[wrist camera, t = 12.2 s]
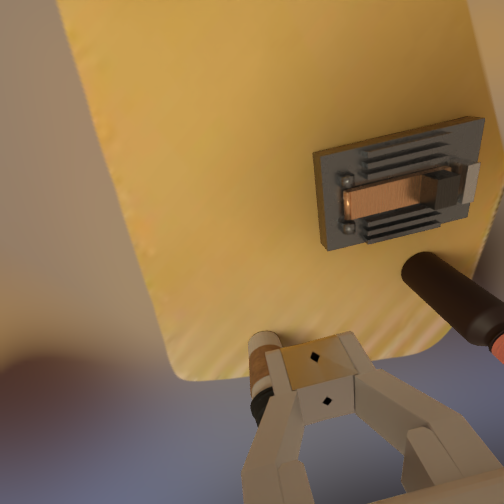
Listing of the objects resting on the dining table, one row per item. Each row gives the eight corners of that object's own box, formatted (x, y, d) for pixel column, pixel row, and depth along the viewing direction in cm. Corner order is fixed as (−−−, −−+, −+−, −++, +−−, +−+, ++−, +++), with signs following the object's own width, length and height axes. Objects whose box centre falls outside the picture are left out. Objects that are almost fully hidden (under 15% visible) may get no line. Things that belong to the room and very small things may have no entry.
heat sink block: (320, 242, 47) (336, 263, 41) (312, 152, 40) (330, 162, 34) (452, 210, 47) (486, 226, 42) (467, 116, 40) (510, 120, 35)
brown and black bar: (356, 229, 38) (464, 202, 38) (356, 200, 36) (469, 172, 36) (342, 217, 41) (441, 193, 42) (341, 190, 39) (445, 165, 40)
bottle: (402, 289, 54) (498, 383, 36) (397, 260, 50) (500, 348, 33) (438, 275, 53) (552, 363, 36) (435, 245, 50) (559, 325, 33)
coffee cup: (244, 362, 57) (256, 442, 44) (238, 330, 53) (249, 407, 40) (286, 354, 57) (310, 431, 44) (284, 321, 53) (310, 395, 40)
